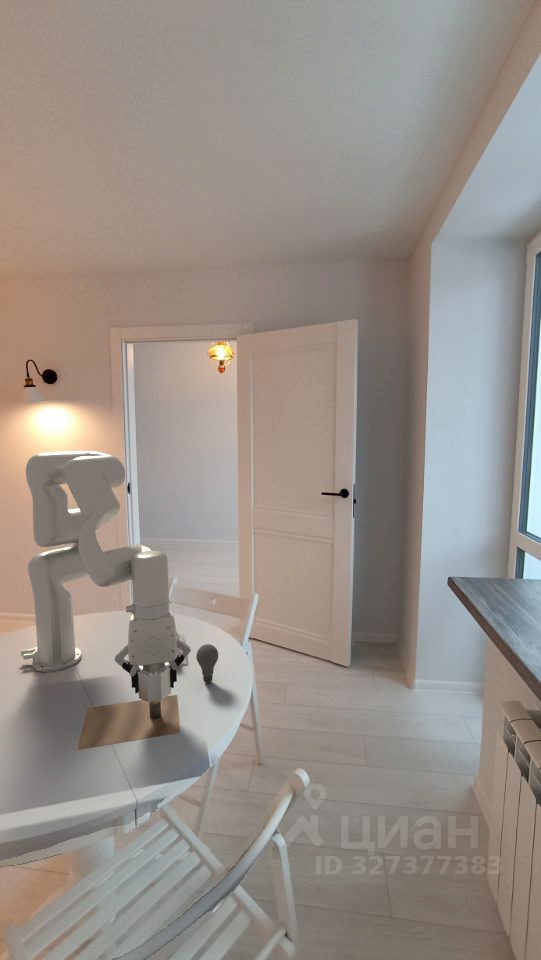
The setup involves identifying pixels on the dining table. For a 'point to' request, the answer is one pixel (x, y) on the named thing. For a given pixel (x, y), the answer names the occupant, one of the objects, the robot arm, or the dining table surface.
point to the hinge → (185, 662)
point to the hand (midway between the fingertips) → (154, 686)
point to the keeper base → (129, 722)
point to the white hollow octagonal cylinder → (154, 681)
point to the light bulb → (207, 661)
